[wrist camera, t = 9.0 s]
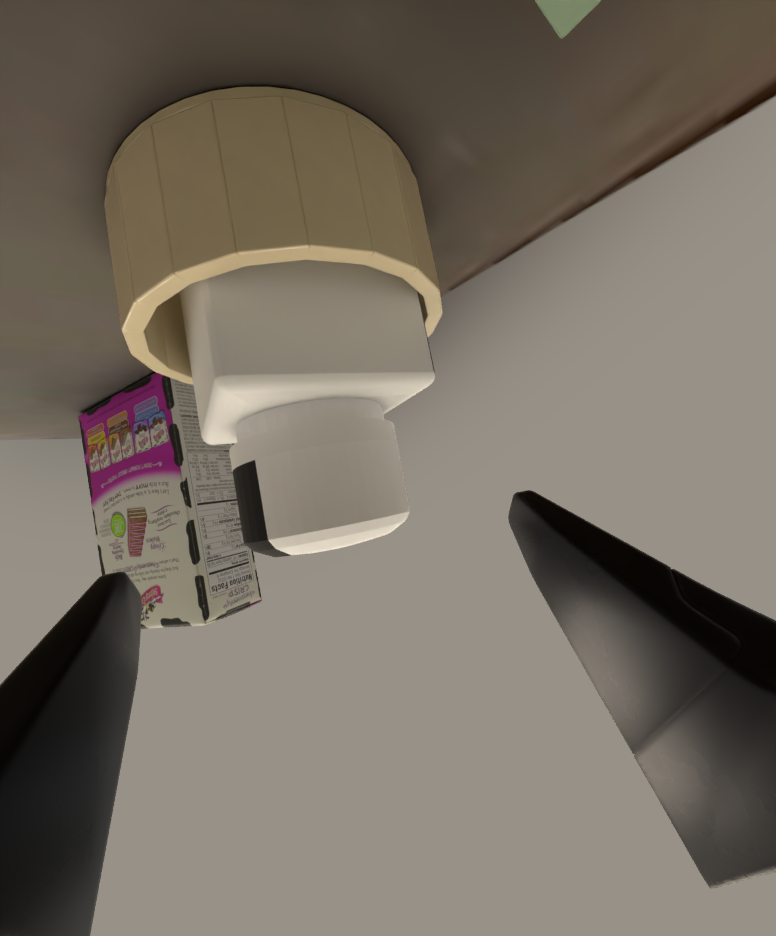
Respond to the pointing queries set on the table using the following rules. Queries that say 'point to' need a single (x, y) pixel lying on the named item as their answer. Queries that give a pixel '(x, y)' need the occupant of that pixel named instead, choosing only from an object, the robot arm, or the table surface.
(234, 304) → the medicine bottle
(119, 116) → the table surface
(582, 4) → the stop button base
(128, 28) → the table surface
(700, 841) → the robot arm
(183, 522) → the candy bar box
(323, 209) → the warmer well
